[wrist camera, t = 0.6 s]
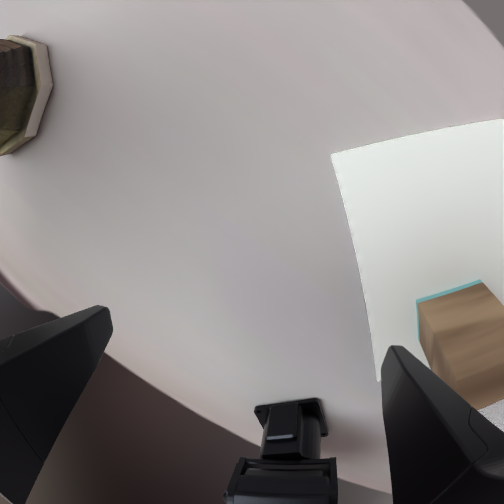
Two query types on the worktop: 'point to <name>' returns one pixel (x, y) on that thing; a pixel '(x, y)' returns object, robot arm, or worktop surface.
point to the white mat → (423, 222)
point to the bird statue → (22, 90)
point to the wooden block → (465, 341)
